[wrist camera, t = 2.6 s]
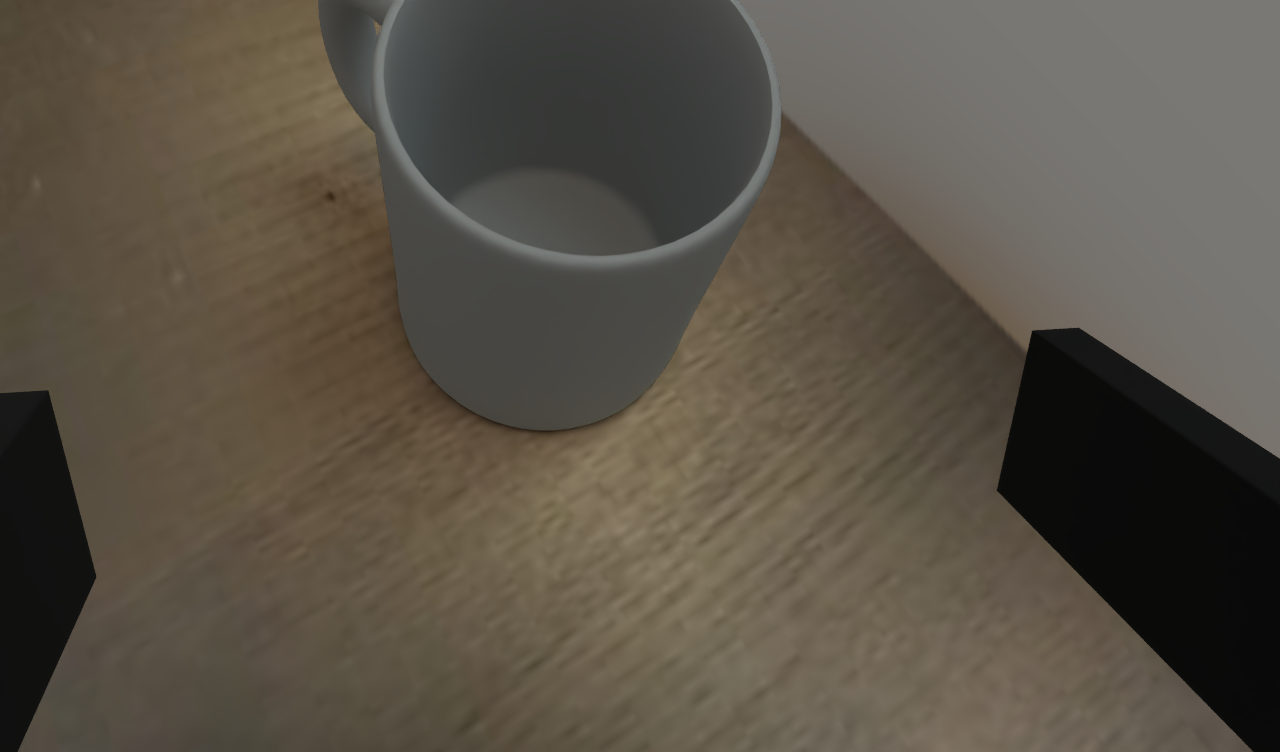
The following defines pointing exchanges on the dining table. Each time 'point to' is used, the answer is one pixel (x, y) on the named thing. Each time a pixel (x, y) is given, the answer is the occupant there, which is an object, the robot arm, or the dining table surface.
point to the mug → (557, 183)
